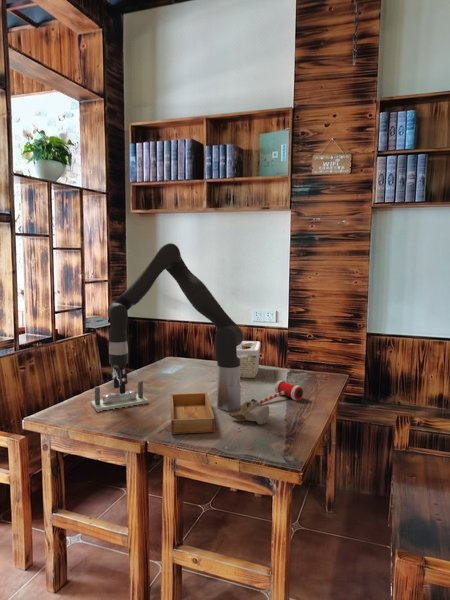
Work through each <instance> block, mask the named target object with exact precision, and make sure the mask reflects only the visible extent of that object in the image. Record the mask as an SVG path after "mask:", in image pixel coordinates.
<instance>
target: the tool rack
mask: <svg viewBox="0 0 450 600" xmlns="http://www.w3.org/2000/svg"><path fill="white" fill-rule="evenodd" d="M143 383H144V380H142V379H141V380H138V381H137V393H136V400H129V401H122V402H116V403H111V404H103V399H101V387H100V386H95V387H94V400H91V401H90V405H91V404H92V405H91V407H92V408H93V407H94V408H95V409H96V410H95V409H94V408H93V409H94V410H95V412H96V411H101V412H103V411H102V410H107V411H109V410H108V409H113V410H116V409H115V408H119V409H123V408H122V407H125V408H129V407H128V406H131V407H134V406H133V405H137V406H139V405H138V404H143V405H145V404H144V403H148V404H149V399H147V398H146V397H145V396H144V384H143Z"/></svg>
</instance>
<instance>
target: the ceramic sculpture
mask: <svg viewBox="0 0 450 600" xmlns="http://www.w3.org/2000/svg"><path fill="white" fill-rule="evenodd" d="M258 401H259V400H256V399H255V398H251V400H249V401H245V402H243V404H241V408H240V410H239V411H236V412H234V413H228V415H229V416H230V417H231V418H234V419H236V420H239V421H242V420H244V421H246V422H256V423H257V424H258V425H264V424H266V423H267V421H268V420H269V416H270V406H269V405H266V406H265V405H264V406H262V405H261V404H259V402H258Z"/></svg>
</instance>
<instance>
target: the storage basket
mask: <svg viewBox="0 0 450 600" xmlns="http://www.w3.org/2000/svg"><path fill="white" fill-rule="evenodd" d="M243 347H245V349H243ZM246 347H247V348H246ZM236 348H237V357H239V358H240V378H243V379H244V378H246V379H250V378H252V379H253V378H256V376H257V374H258V371H259V367H260V353H261V352H260V350H261V341H259V340H258V341H256V340H254V341H252V340H242V342H241V344H240V345H238V346H236Z"/></svg>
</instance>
